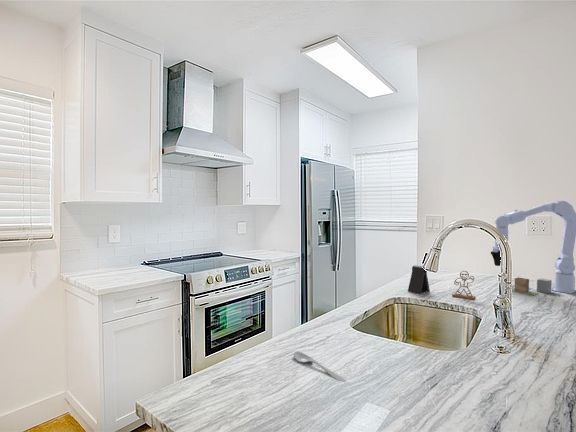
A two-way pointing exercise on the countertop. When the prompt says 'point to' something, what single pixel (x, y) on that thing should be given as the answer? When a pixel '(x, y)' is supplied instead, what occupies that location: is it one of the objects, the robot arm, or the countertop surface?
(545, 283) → the grey block
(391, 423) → the countertop surface
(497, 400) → the countertop surface
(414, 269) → the phone stand
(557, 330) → the countertop surface
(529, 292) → the rubber mat
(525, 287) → the walnut block
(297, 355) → the spoon
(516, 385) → the countertop surface
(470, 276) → the grey figurine
